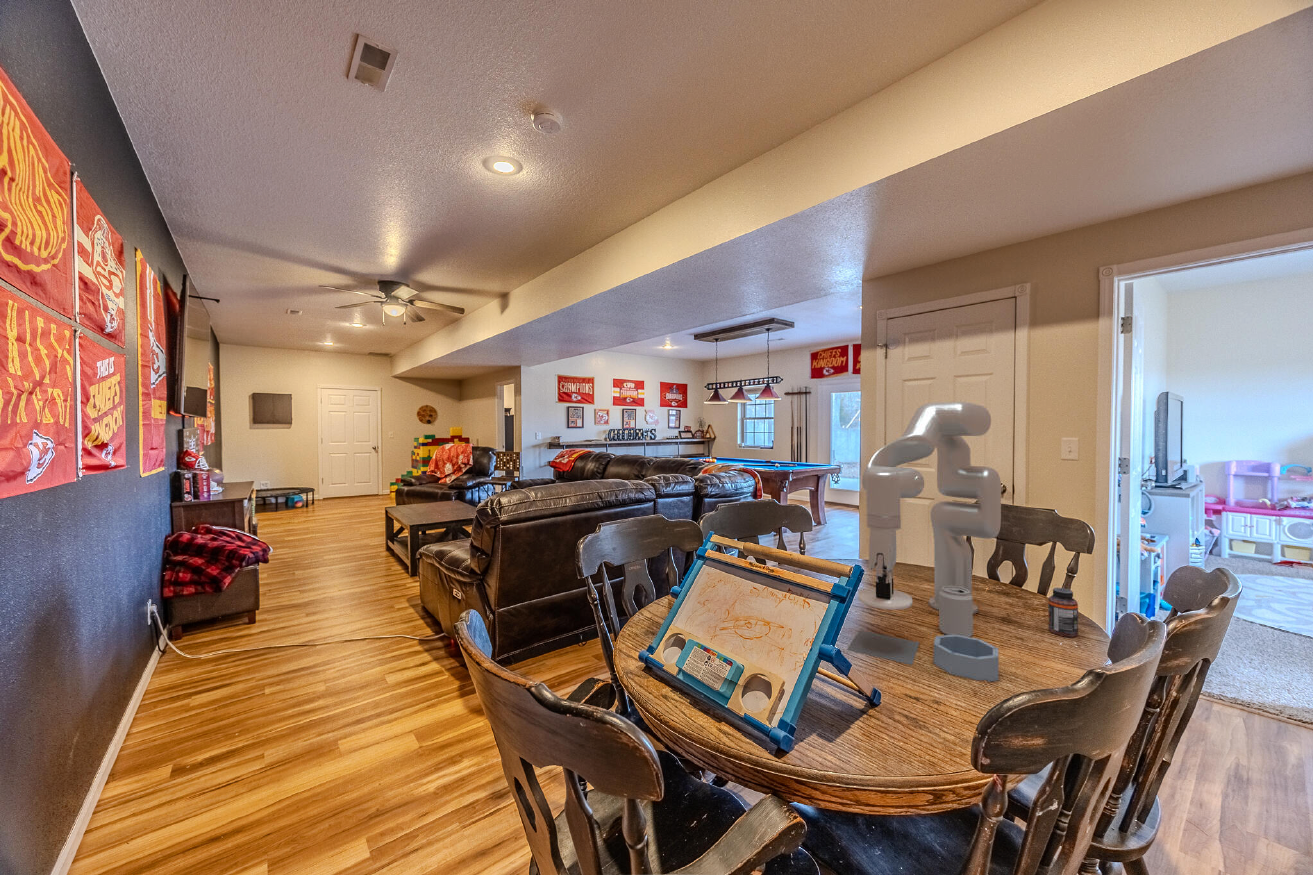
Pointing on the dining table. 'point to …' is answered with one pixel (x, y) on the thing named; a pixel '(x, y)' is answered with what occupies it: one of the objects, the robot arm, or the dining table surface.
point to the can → (956, 611)
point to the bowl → (967, 657)
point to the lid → (895, 603)
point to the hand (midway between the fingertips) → (884, 595)
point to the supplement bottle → (1063, 613)
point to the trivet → (884, 647)
